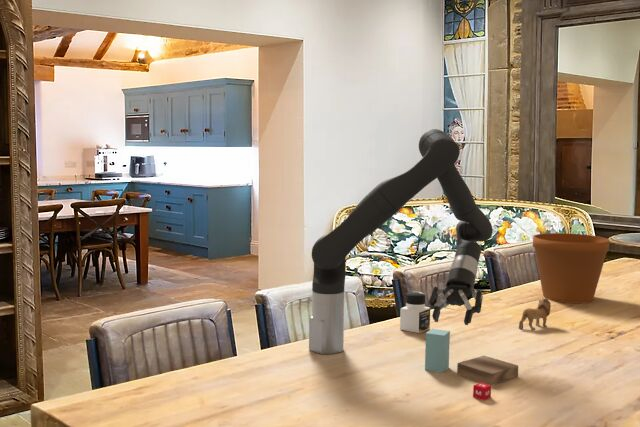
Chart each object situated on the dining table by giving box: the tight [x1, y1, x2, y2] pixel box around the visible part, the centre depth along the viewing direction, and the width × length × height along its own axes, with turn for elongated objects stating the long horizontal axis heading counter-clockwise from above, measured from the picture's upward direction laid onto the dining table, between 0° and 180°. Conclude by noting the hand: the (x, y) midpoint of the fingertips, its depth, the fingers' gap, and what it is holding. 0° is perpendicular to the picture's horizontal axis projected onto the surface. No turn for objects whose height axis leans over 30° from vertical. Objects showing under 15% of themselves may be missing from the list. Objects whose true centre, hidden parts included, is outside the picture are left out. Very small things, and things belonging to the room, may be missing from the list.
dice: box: [472, 382, 492, 401], centre depth 174 cm, size 3×3×3 cm
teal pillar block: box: [424, 328, 451, 373], centre depth 195 cm, size 5×5×10 cm
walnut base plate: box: [456, 355, 519, 387], centre depth 190 cm, size 11×11×3 cm
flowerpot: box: [532, 232, 610, 304], centre depth 284 cm, size 28×28×24 cm
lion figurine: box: [518, 297, 551, 331], centre depth 239 cm, size 15×5×9 cm, turn 131°
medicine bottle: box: [399, 291, 431, 334], centre depth 234 cm, size 7×7×12 cm
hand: (450, 322), depth 200 cm, fingers open, 8 cm apart
